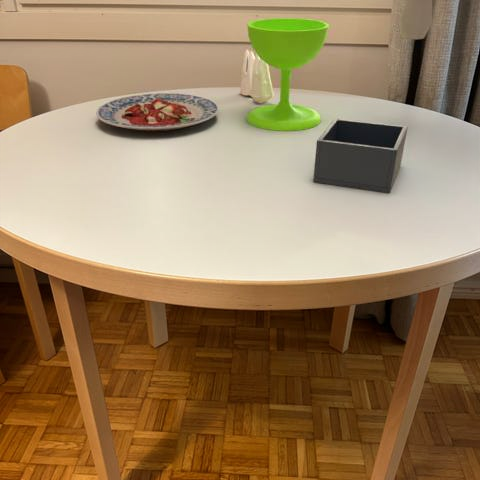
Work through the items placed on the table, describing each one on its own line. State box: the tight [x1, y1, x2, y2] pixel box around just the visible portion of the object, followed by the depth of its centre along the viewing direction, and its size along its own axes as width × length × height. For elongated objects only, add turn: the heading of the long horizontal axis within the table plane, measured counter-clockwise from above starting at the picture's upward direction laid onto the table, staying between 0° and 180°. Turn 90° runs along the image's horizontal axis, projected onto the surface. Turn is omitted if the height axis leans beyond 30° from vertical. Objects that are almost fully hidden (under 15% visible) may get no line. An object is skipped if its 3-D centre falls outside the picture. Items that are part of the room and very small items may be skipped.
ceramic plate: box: [95, 92, 219, 132], centre depth 113 cm, size 26×26×3 cm
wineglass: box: [246, 17, 330, 132], centre depth 109 cm, size 16×16×18 cm
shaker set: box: [239, 49, 275, 104], centre depth 123 cm, size 12×4×11 cm, turn 22°
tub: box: [312, 118, 409, 194], centre depth 87 cm, size 12×12×7 cm
